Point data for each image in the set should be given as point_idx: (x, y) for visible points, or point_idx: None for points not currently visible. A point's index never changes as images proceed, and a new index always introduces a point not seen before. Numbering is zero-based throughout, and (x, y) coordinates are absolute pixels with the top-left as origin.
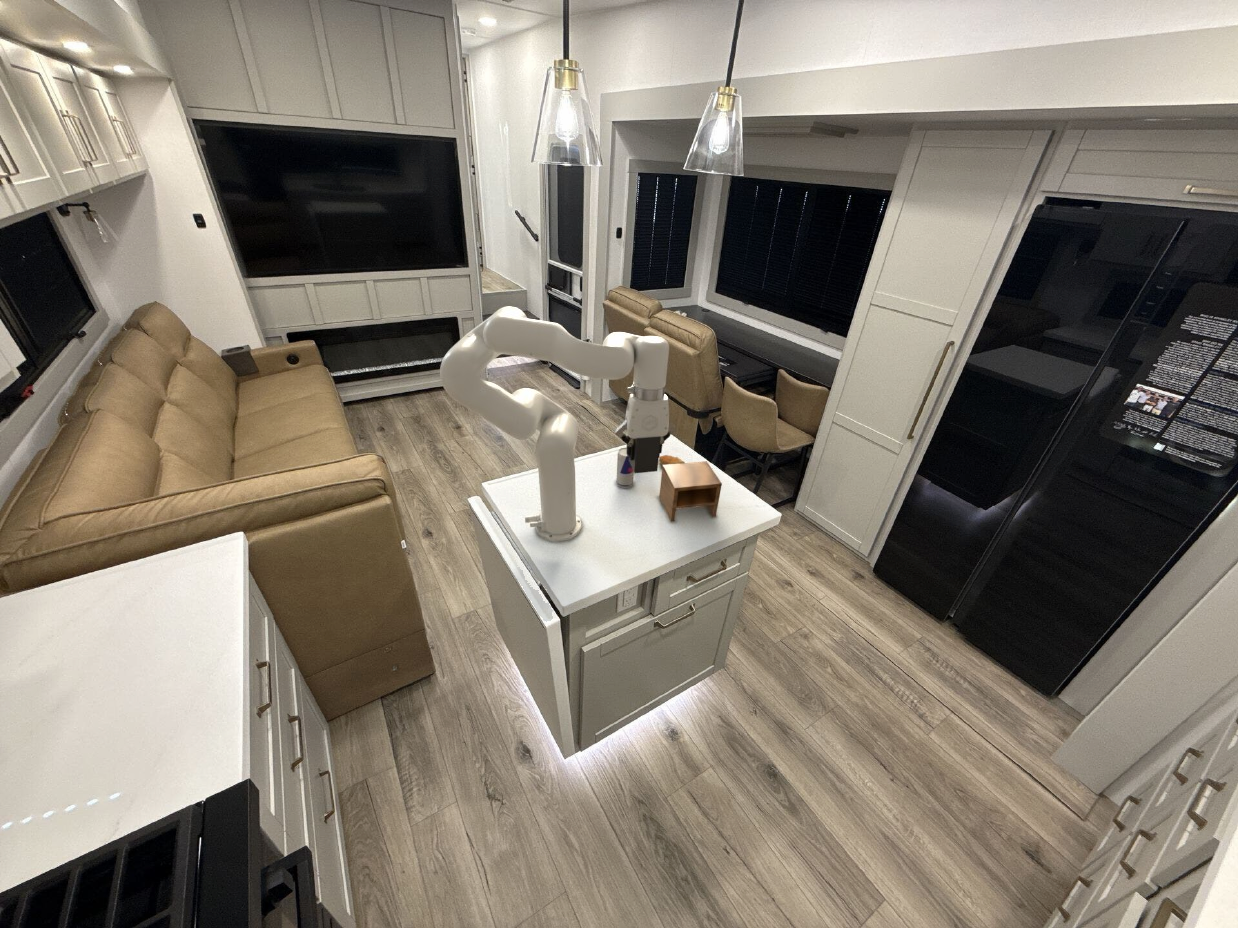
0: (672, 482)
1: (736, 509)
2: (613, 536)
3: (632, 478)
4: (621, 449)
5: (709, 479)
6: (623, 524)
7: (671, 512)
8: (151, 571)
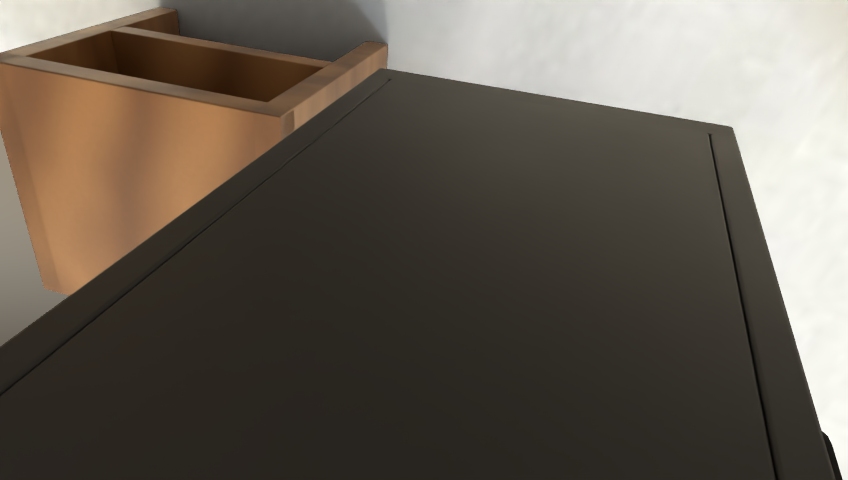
0: None
1: (58, 28)
2: (766, 25)
3: None
4: None
5: (48, 126)
6: (650, 109)
7: (365, 63)
8: None
